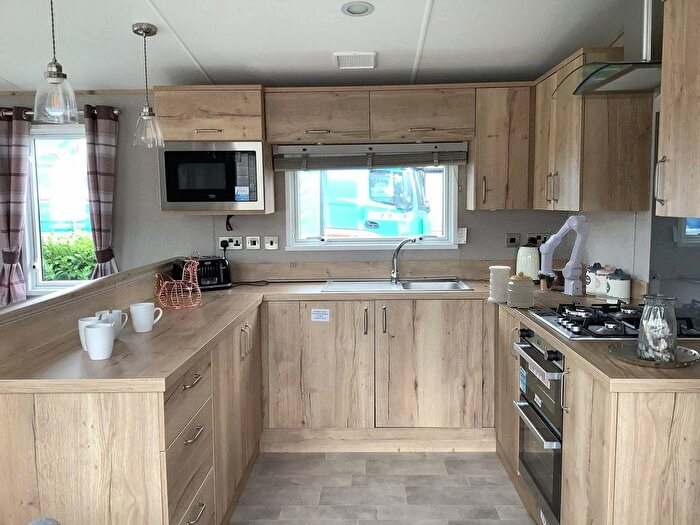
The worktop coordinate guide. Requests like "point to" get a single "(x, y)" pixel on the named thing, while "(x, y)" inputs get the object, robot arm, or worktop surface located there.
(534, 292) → the coaster
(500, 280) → the decorative container
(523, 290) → the jar
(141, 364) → the worktop surface
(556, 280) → the coffee mug
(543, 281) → the pot terracotta
